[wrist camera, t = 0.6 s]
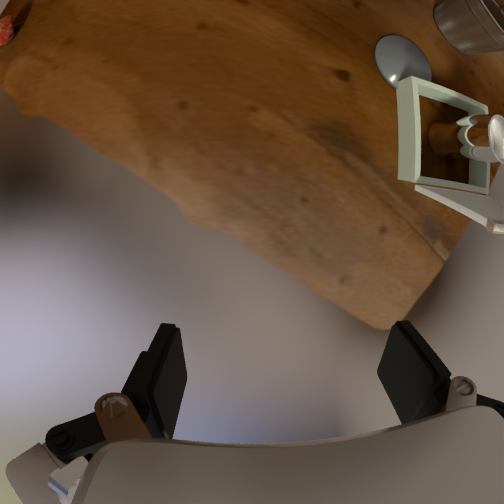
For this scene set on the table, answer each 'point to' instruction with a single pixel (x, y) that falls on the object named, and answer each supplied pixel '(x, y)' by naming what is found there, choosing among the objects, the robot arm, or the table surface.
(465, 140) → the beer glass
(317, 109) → the table surface
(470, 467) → the robot arm
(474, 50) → the plant pot
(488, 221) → the lid
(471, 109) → the frame
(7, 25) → the pomegranate
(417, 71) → the grey round coaster
